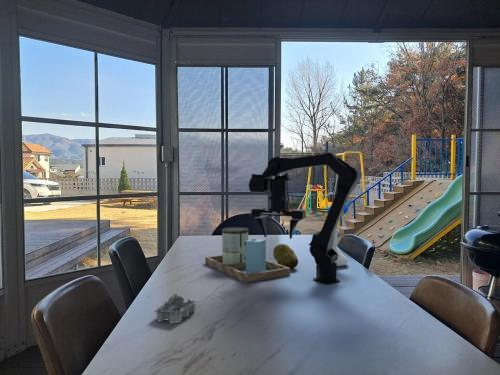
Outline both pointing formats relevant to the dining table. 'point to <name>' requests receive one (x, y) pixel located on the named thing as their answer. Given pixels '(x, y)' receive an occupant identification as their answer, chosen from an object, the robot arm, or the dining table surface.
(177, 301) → the egg carton
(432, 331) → the dining table surface
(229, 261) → the coffee can
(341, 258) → the flower in vase
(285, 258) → the potato
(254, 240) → the milk carton
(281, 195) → the robot arm
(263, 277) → the light wood flat frame
